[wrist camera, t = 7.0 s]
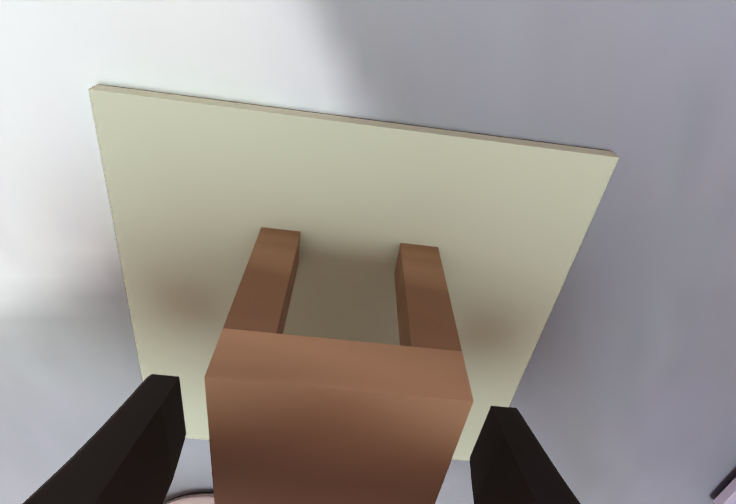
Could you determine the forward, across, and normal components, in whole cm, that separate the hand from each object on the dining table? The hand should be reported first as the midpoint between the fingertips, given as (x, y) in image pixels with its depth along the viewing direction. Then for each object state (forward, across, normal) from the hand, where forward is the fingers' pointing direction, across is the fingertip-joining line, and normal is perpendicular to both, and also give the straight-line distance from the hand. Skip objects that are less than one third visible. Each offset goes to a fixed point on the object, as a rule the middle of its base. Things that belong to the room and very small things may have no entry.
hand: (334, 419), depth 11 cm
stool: (+3, 0, 0) cm, 3 cm away
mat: (+4, 0, 0) cm, 4 cm away
